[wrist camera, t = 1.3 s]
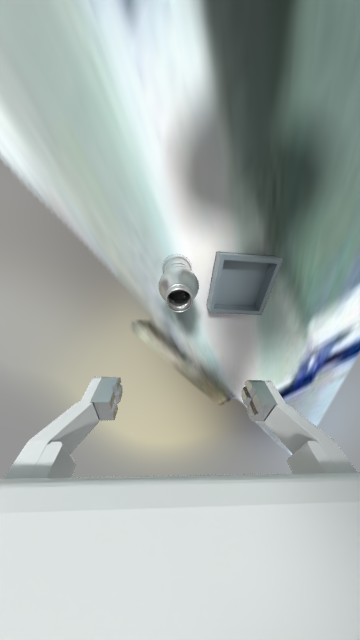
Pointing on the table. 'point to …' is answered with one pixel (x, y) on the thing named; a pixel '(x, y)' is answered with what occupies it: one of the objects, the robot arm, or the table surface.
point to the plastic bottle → (178, 283)
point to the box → (242, 282)
